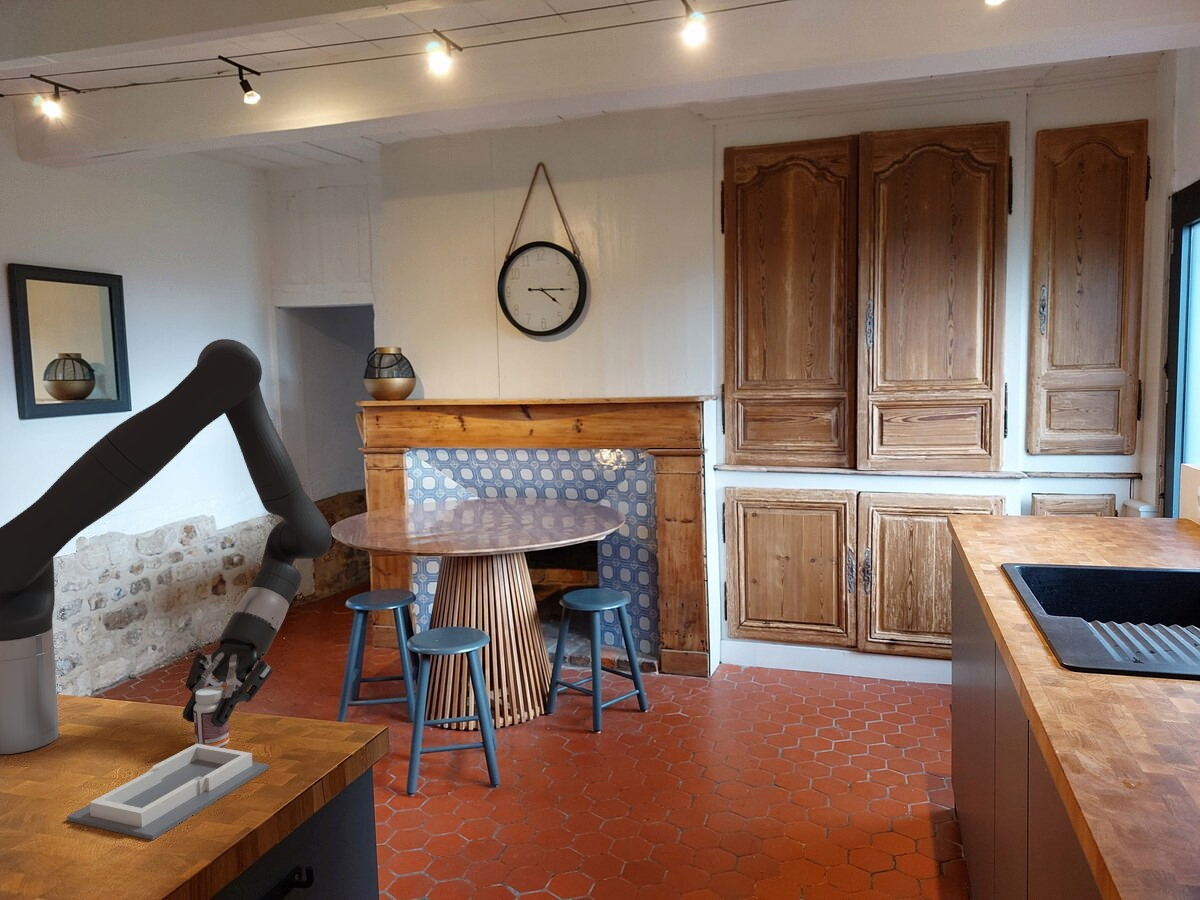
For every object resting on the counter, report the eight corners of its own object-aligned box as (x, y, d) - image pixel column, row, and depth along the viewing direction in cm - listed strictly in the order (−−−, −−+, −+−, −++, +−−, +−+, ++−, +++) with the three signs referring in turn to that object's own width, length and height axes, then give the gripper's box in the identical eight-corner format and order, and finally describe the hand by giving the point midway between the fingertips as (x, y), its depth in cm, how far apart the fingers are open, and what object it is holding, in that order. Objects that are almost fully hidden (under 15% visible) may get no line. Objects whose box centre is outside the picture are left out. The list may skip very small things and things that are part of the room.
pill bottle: (236, 739, 131) (234, 686, 131) (214, 752, 127) (212, 697, 126) (210, 735, 133) (208, 683, 132) (188, 748, 128) (185, 694, 127)
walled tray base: (67, 820, 107) (66, 802, 107) (192, 754, 126) (191, 738, 126) (152, 840, 102) (151, 821, 102) (268, 768, 121) (268, 752, 121)
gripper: (207, 606, 137) (149, 705, 127) (280, 614, 133) (225, 718, 122) (233, 629, 143) (179, 726, 133) (303, 637, 138) (253, 739, 128)
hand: (202, 721), depth 127 cm, fingers closed on pill bottle, 4 cm apart
